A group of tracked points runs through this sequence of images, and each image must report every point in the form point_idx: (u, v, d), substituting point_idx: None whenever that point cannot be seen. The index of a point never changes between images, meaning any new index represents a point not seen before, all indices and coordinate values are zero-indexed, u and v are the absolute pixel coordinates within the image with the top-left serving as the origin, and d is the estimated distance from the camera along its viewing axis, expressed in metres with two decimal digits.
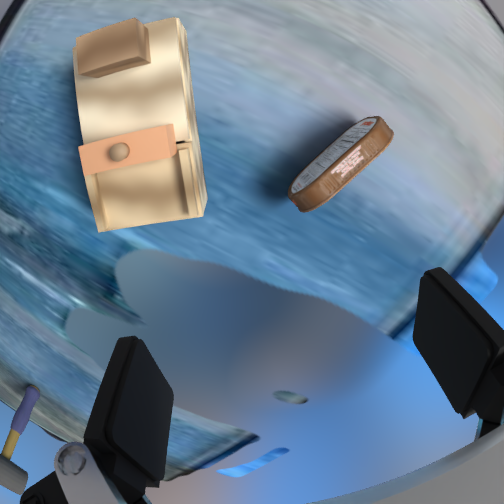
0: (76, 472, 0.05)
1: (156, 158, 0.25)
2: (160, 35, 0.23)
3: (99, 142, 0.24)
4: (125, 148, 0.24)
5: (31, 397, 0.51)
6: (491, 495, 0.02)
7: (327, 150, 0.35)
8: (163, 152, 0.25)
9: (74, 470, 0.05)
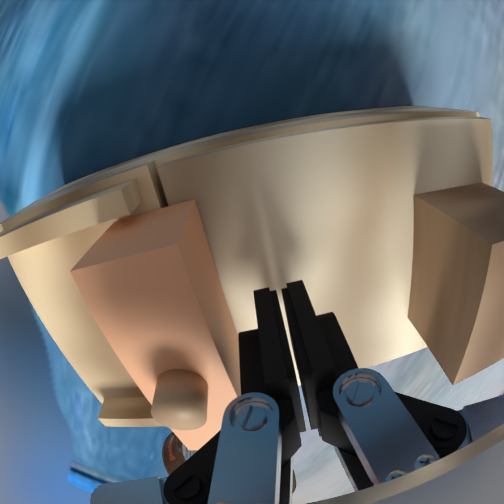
0: (246, 426, 0.06)
1: (180, 436, 0.10)
2: None
3: (203, 329, 0.08)
4: None
5: None
6: (491, 495, 0.02)
7: None
8: (197, 443, 0.10)
9: (247, 426, 0.05)
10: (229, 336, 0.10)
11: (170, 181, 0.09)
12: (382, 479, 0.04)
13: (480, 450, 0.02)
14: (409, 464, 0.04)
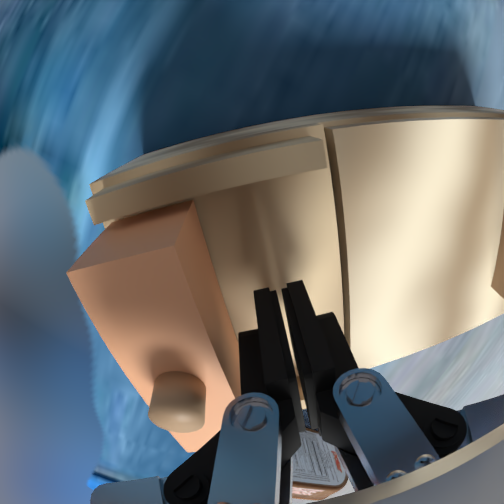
0: (246, 426, 0.06)
1: (178, 438, 0.10)
2: None
3: (200, 331, 0.07)
4: None
5: None
6: (491, 495, 0.02)
7: None
8: (195, 445, 0.10)
9: (247, 426, 0.05)
10: (227, 338, 0.10)
11: (343, 144, 0.09)
12: (382, 479, 0.04)
13: (480, 450, 0.02)
14: (409, 464, 0.04)
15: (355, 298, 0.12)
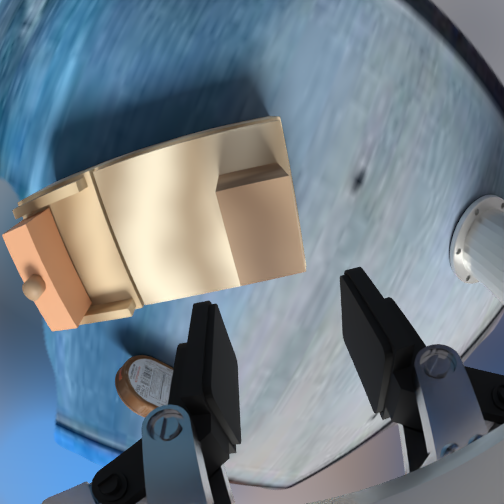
0: (165, 437, 0.06)
1: (45, 318, 0.20)
2: None
3: (37, 255, 0.17)
4: (38, 298, 0.18)
5: None
6: (491, 495, 0.02)
7: None
8: (53, 325, 0.20)
9: (164, 436, 0.05)
10: (62, 266, 0.20)
11: (98, 177, 0.19)
12: (439, 448, 0.04)
13: (480, 450, 0.02)
14: (464, 440, 0.04)
15: (125, 253, 0.22)
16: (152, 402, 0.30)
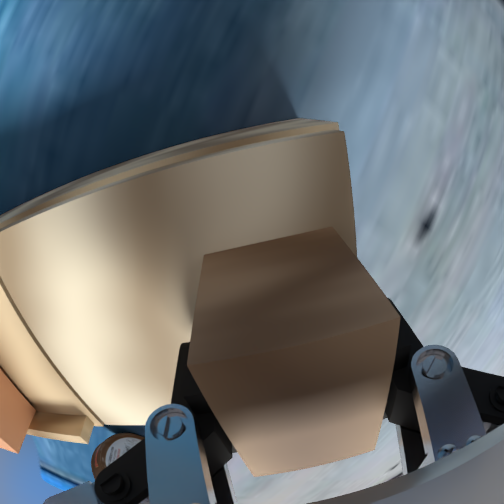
0: (169, 436, 0.06)
1: None
2: None
3: None
4: None
5: None
6: (491, 495, 0.02)
7: None
8: None
9: (167, 435, 0.05)
10: None
11: None
12: (436, 449, 0.04)
13: (480, 450, 0.02)
14: (462, 440, 0.04)
15: (60, 366, 0.11)
16: None
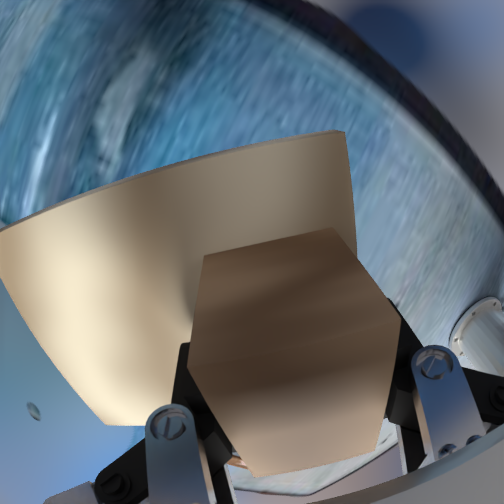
0: (168, 437, 0.06)
1: None
2: None
3: None
4: None
5: None
6: (491, 495, 0.02)
7: None
8: None
9: (167, 435, 0.05)
10: None
11: None
12: (436, 449, 0.04)
13: (480, 450, 0.02)
14: (462, 440, 0.04)
15: (60, 367, 0.11)
16: (236, 454, 0.40)
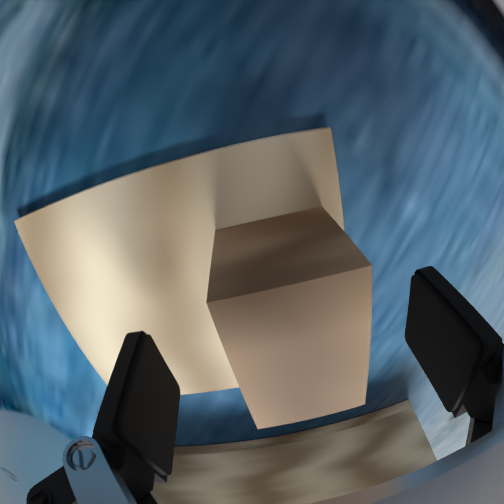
0: (85, 467, 0.05)
1: None
2: None
3: None
4: None
5: None
6: (491, 495, 0.02)
7: None
8: None
9: (83, 465, 0.05)
10: None
11: (22, 230, 0.10)
12: None
13: (480, 450, 0.02)
14: None
15: (78, 339, 0.13)
16: None
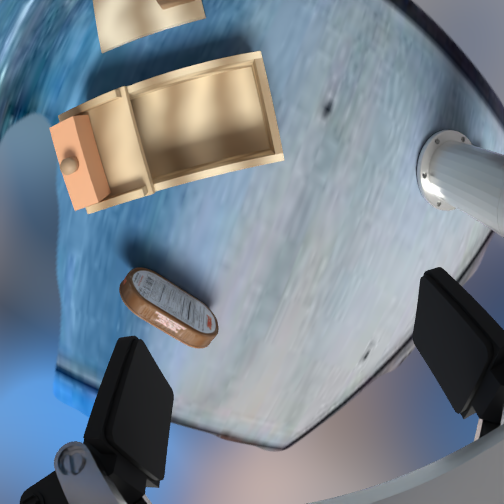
0: (77, 472, 0.05)
1: (71, 198, 0.26)
2: (187, 10, 0.27)
3: (77, 139, 0.23)
4: (71, 173, 0.24)
5: None
6: (491, 495, 0.02)
7: (178, 290, 0.42)
8: (77, 203, 0.26)
9: (74, 470, 0.05)
10: (93, 155, 0.26)
11: None
12: None
13: (480, 450, 0.02)
14: None
15: (97, 21, 0.26)
16: (152, 302, 0.36)
